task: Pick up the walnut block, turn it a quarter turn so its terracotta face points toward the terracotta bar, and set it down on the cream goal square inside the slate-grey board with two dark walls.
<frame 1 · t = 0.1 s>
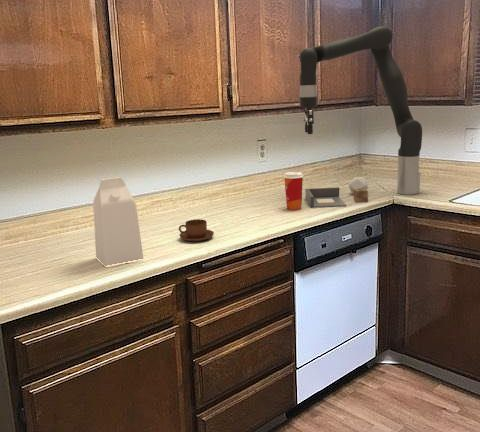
hand: (308, 133, 241), 29 cm above the countertop, tool pointing down, fingers open, 8 cm apart
walnut block: (360, 201, 237), on the countertop
die: (358, 194, 250), on the countertop
coffee cup: (294, 208, 228), on the countertop
cup and saucer: (197, 239, 191), on the countertop
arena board: (325, 202, 237), on the countertop
milk: (119, 260, 171), on the countertop
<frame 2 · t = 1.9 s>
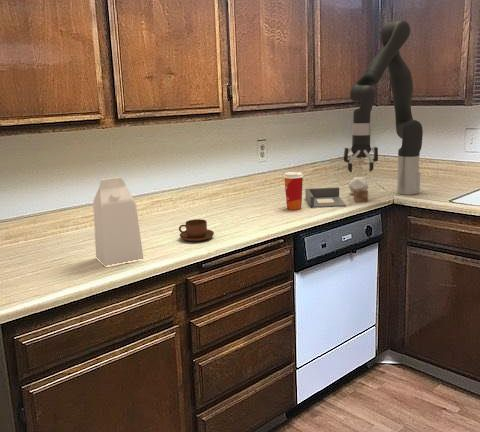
hand: (360, 171, 234), 13 cm above the countertop, tool pointing down, fingers open, 8 cm apart
nothing on the countertop moved.
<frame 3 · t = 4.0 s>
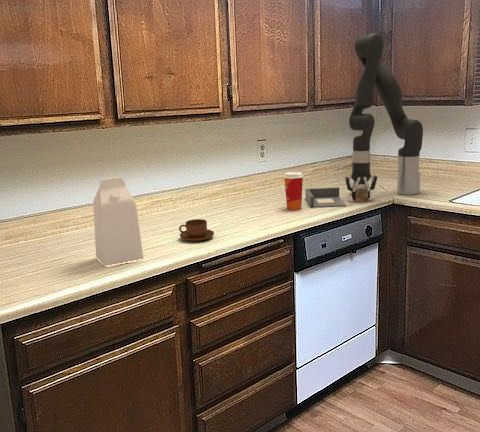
hand: (360, 199, 236), 1 cm above the countertop, tool pointing down, fingers closed on walnut block, 5 cm apart
walnut block: (360, 200, 236), on the countertop, touching gripper
everything else where it was.
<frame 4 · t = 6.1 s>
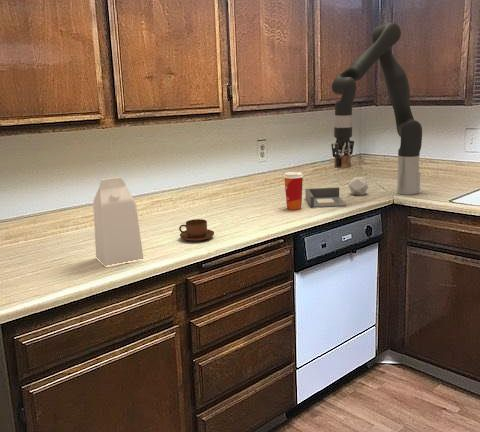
hand: (342, 165, 232), 16 cm above the countertop, tool pointing down, fingers closed on walnut block, 5 cm apart
walnut block: (342, 167, 233), point 15 cm above the countertop, touching gripper
everything else where it was.
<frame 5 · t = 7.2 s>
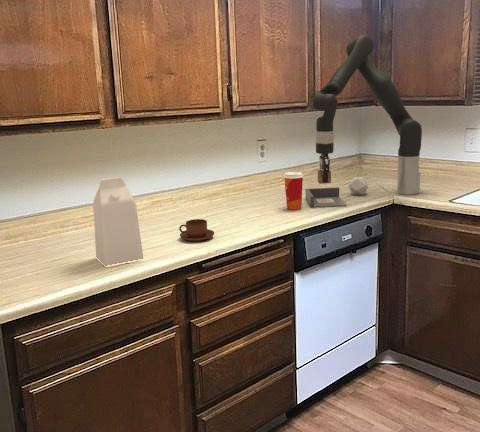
hand: (324, 180, 235), 9 cm above the countertop, tool pointing down, fingers closed on walnut block, 5 cm apart
walnut block: (324, 182, 235), point 9 cm above the countertop, touching gripper
everything else where it was.
when the fingers open (2 cm above the countertop, at t = 8.5 s): walnut block stays where it is, resting on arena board.
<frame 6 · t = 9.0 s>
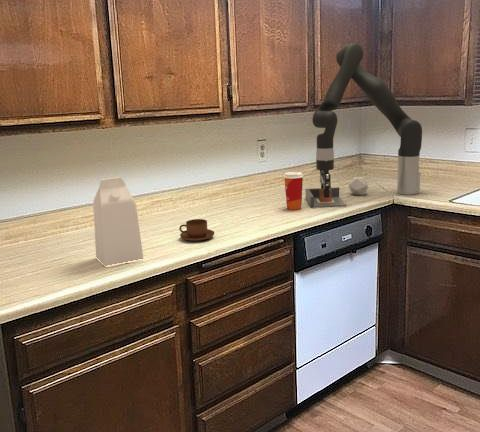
hand: (325, 195, 236), 3 cm above the countertop, tool pointing down, fingers open, 8 cm apart
walnut block: (325, 200, 237), point 1 cm above the countertop, touching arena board
everything else where it was.
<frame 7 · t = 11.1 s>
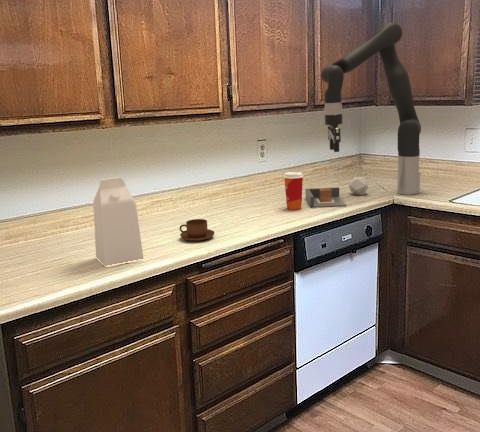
hand: (334, 150, 239), 21 cm above the countertop, tool pointing down, fingers open, 8 cm apart
nothing on the countertop moved.
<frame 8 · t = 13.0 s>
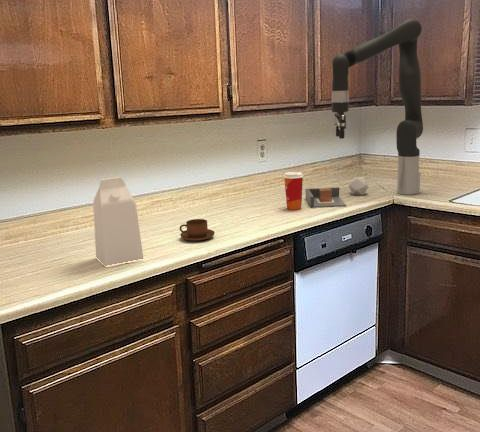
hand: (340, 137, 247), 26 cm above the countertop, tool pointing down, fingers open, 8 cm apart
nothing on the countertop moved.
at the end: walnut block 0.1 cm off-centre on the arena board, point 0.8 cm above the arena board's base; walnut block tilted 0°; the gripper is holding nothing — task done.
